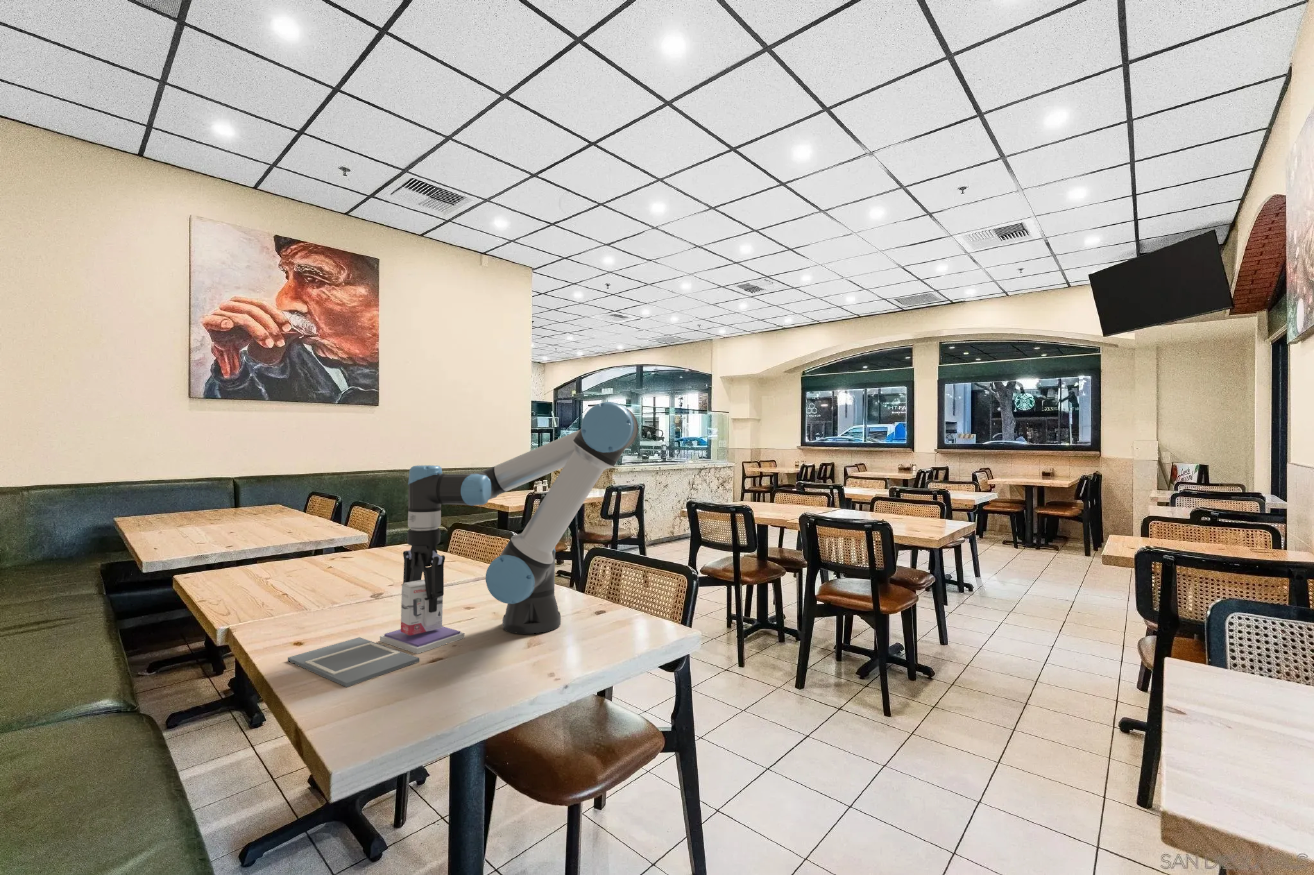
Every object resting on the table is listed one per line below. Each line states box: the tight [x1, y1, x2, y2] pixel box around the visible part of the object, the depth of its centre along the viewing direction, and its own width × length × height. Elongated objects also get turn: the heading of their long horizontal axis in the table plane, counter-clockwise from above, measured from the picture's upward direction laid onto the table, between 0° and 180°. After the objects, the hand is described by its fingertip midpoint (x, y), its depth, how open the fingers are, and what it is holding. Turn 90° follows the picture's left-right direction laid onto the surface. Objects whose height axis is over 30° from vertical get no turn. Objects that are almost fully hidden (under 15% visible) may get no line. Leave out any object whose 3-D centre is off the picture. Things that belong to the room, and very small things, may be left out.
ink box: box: [400, 578, 444, 636], centre depth 139 cm, size 9×5×12 cm, turn 138°
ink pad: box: [379, 625, 466, 655], centre depth 139 cm, size 15×13×2 cm
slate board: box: [287, 636, 420, 688], centre depth 125 cm, size 24×16×1 cm, turn 57°
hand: (422, 622), depth 139 cm, fingers closed on ink box, 5 cm apart
